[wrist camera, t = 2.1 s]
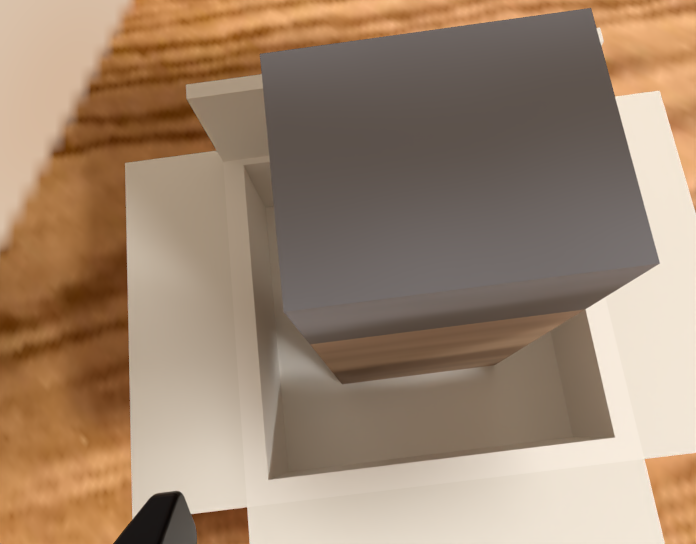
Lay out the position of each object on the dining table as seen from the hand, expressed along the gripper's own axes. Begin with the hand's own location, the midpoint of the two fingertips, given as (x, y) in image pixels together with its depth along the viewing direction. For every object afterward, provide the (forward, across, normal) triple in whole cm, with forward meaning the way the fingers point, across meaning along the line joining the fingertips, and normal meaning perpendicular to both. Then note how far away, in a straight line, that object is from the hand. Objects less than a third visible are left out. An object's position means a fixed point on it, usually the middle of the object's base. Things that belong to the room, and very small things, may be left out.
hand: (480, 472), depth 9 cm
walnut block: (+10, 0, +4) cm, 11 cm away
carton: (+9, 0, +6) cm, 11 cm away
